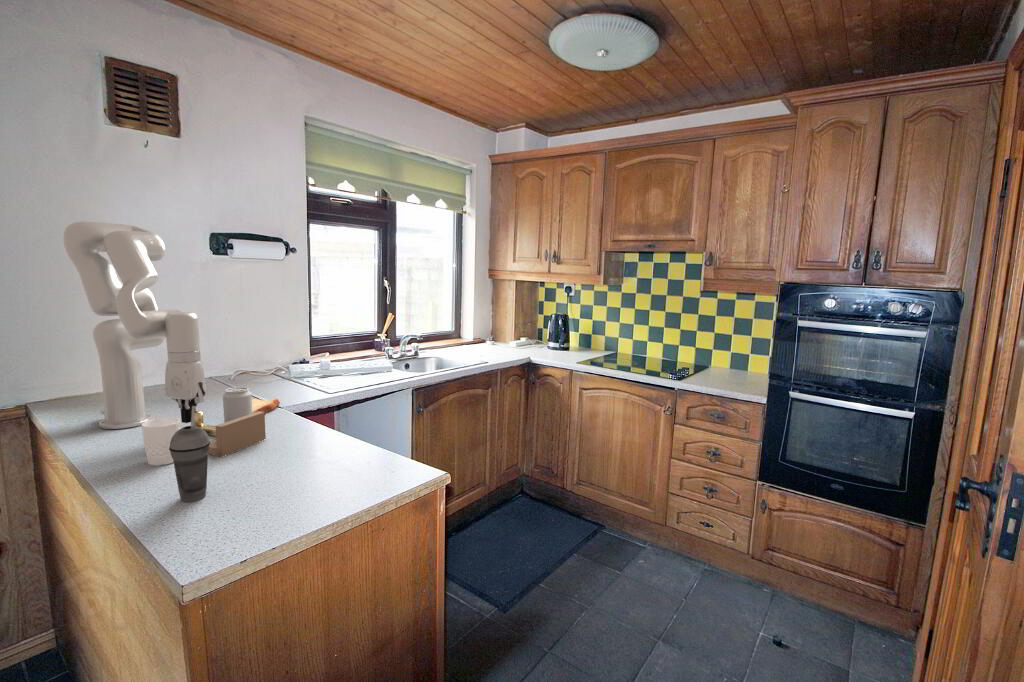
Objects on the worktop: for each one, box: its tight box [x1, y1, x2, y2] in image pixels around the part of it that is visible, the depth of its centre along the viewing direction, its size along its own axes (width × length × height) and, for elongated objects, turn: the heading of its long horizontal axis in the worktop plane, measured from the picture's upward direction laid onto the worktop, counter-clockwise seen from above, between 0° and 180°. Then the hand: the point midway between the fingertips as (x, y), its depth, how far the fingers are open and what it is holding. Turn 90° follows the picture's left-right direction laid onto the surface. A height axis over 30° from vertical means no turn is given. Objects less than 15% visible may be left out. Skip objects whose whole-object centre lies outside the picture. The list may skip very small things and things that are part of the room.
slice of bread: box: [252, 397, 281, 415], centre depth 165 cm, size 18×18×4 cm
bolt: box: [194, 410, 216, 436], centre depth 137 cm, size 9×2×6 cm, turn 72°
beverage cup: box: [169, 406, 210, 503], centre depth 104 cm, size 7×7×20 cm
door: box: [181, 411, 267, 457], centre depth 137 cm, size 26×14×8 cm, turn 72°
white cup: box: [140, 416, 182, 466], centre depth 123 cm, size 8×8×10 cm
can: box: [222, 386, 253, 423], centre depth 148 cm, size 8×8×12 cm
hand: (189, 421), depth 139 cm, fingers closed
